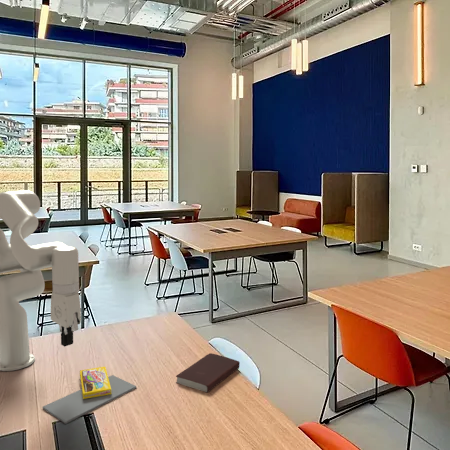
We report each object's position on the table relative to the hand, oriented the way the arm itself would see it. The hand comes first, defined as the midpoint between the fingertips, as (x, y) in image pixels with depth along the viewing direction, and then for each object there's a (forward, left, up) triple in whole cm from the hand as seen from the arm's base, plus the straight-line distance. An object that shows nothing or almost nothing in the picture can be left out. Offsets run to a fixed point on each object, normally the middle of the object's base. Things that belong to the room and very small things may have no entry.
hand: (67, 344), depth 134 cm
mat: (+11, 0, -14) cm, 18 cm away
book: (+30, +32, -15) cm, 46 cm away
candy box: (+4, +1, -12) cm, 13 cm away
